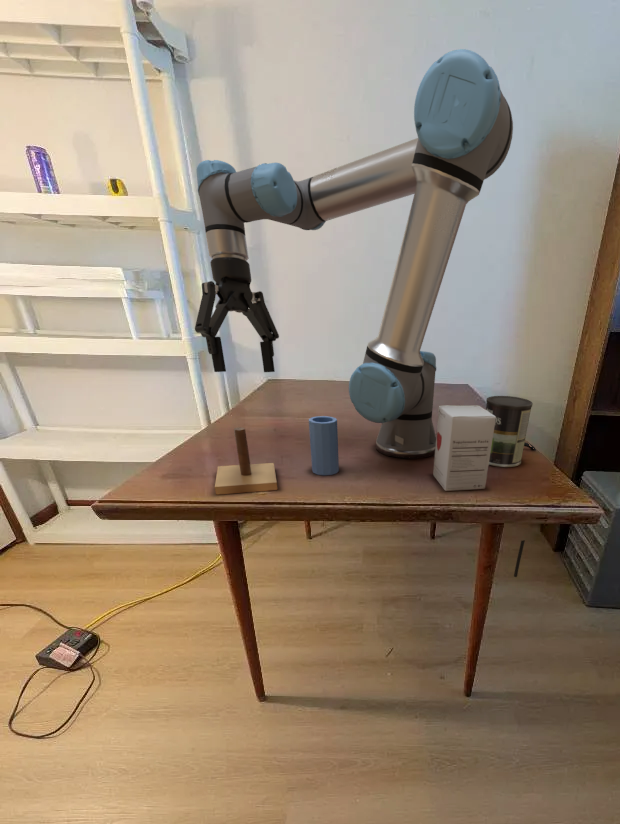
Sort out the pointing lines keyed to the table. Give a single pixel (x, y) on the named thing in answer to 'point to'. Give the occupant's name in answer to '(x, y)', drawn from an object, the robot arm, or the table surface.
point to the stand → (244, 472)
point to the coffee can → (508, 429)
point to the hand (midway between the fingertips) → (246, 372)
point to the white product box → (463, 447)
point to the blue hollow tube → (324, 445)
